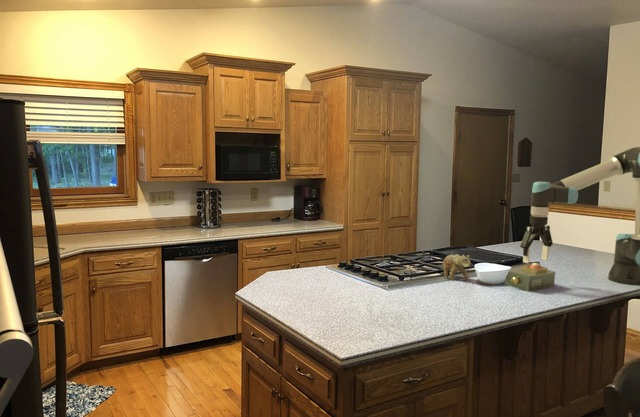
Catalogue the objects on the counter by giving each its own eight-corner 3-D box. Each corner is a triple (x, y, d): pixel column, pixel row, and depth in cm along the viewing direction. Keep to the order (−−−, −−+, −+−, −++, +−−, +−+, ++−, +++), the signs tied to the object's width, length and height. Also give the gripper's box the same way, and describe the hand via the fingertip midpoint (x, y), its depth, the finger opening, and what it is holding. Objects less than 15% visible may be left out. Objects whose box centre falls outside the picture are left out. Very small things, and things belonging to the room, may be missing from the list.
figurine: (451, 290, 249) (455, 259, 242) (436, 274, 263) (439, 244, 256) (471, 287, 251) (475, 256, 245) (455, 272, 265) (459, 242, 259)
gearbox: (530, 279, 257) (531, 262, 255) (554, 286, 245) (556, 268, 244) (501, 284, 246) (503, 267, 245) (526, 292, 235) (527, 273, 234)
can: (533, 280, 251) (534, 262, 250) (541, 283, 247) (543, 264, 246) (526, 281, 249) (528, 263, 248) (535, 284, 245) (537, 265, 244)
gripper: (549, 213, 253) (545, 256, 256) (514, 216, 240) (510, 262, 243) (563, 215, 247) (559, 260, 250) (528, 218, 234) (524, 265, 237)
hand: (535, 261), depth 246 cm, fingers open, 13 cm apart
